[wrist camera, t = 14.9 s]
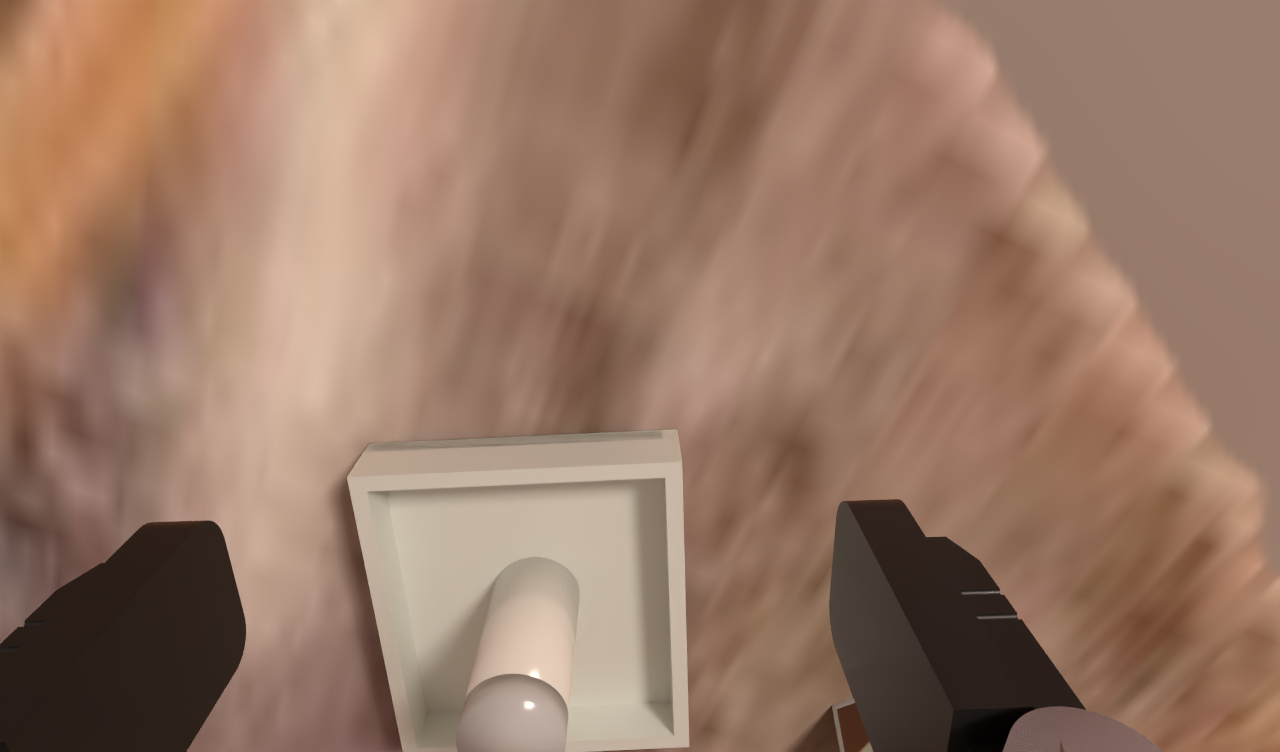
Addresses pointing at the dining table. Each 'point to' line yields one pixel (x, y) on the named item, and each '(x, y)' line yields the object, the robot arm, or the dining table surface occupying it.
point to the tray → (521, 528)
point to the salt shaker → (523, 662)
